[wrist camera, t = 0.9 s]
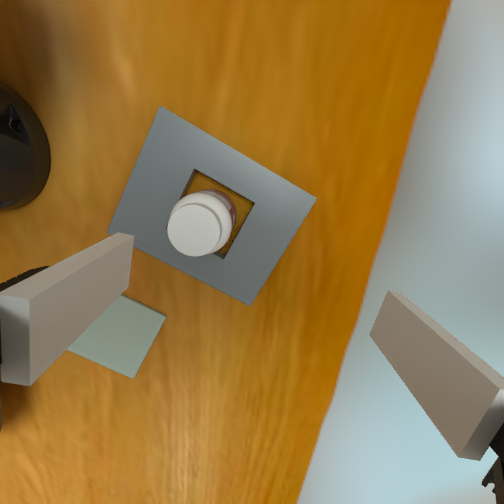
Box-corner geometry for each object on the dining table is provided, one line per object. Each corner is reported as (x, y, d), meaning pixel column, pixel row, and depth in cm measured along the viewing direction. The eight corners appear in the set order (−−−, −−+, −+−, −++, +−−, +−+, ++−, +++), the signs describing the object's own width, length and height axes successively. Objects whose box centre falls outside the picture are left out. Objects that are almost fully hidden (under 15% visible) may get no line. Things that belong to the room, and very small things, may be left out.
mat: (58, 343, 40) (56, 345, 40) (86, 276, 37) (84, 277, 37) (134, 377, 42) (133, 379, 41) (167, 315, 39) (166, 317, 38)
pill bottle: (217, 246, 36) (201, 278, 25) (178, 217, 35) (144, 237, 24) (246, 209, 34) (243, 226, 24) (207, 177, 33) (184, 180, 23)
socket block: (114, 229, 35) (106, 232, 33) (165, 109, 31) (160, 105, 29) (250, 299, 38) (250, 306, 36) (313, 196, 34) (317, 198, 32)
